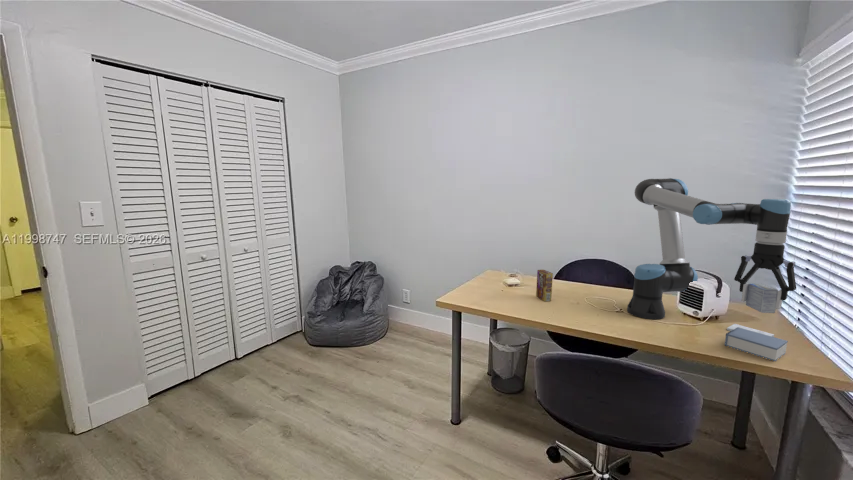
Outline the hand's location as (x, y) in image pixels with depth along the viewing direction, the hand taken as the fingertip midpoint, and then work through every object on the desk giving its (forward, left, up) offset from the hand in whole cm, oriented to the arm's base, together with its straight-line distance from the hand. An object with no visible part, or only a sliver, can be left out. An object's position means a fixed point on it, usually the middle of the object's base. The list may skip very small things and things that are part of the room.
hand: (760, 304), depth 124 cm
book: (0, 0, -18) cm, 18 cm away
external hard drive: (-6, +17, -18) cm, 26 cm away
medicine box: (0, 0, -2) cm, 2 cm away
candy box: (-80, -21, -18) cm, 84 cm away
